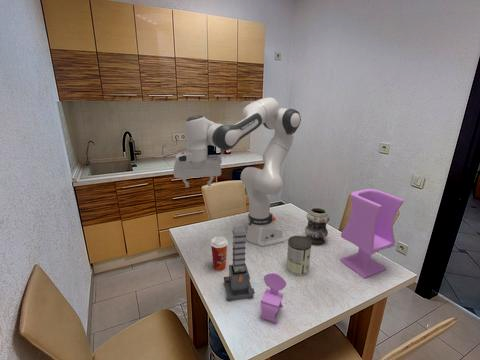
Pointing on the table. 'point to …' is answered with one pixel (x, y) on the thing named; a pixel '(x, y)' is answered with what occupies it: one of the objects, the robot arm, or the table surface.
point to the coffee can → (298, 255)
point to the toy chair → (272, 296)
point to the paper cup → (219, 252)
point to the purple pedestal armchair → (370, 228)
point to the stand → (238, 285)
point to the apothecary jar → (317, 225)
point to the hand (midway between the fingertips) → (198, 186)
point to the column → (239, 249)
